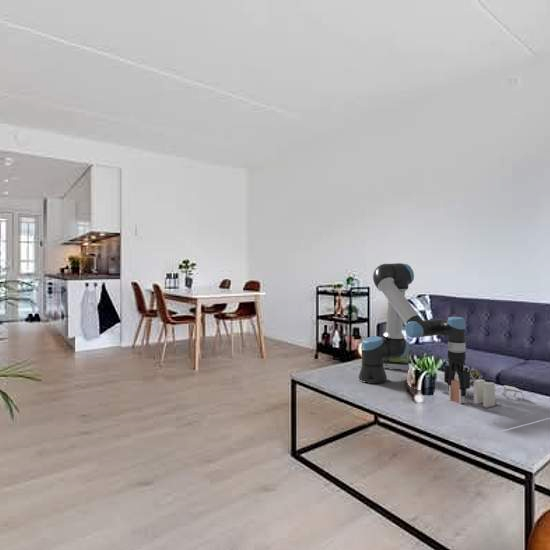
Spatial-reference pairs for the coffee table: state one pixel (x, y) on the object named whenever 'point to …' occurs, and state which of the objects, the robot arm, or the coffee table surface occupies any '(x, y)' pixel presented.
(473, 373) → the passion flower
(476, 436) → the coffee table surface
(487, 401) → the domino
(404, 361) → the tea box
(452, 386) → the domino
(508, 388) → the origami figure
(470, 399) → the mat
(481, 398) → the domino
